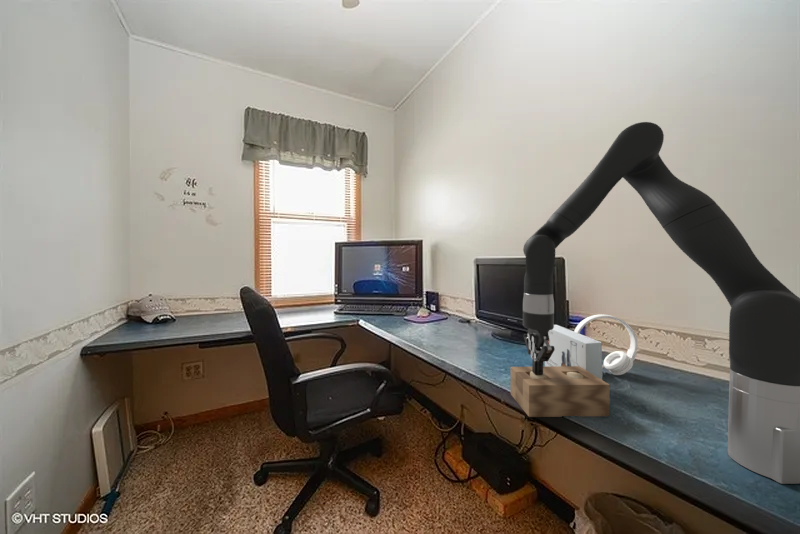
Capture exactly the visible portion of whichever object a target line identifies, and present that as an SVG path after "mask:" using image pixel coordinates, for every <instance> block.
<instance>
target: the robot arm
mask: <svg viewBox="0 0 800 534" xmlns="http://www.w3.org/2000/svg"><path fill="white" fill-rule="evenodd" d="M664 137H665V135H664V131H663V130H662V127H661V126H659V125H658V124H656V123H654V122H650V121H643V122H641V121H640V122H637V123H634V124H633V123H632V124H631V125H630V126H628V127H626V128H624V129H623V130H622V131H621V132H620V133H619V134H618V135H617V137H616V138H615V140H614V141H613V142H612V144H611V145H610V146H609V148H608V150H607V151H606V152H605V153H604V155H603V156H602V158H601V159H600V161H599V162H598V163H597V165H596V166H595V167H593V168H594V169H592V170H591V172H590V173H589V175H588V176H586V178H585V179H584V180H583V182H581V183H580V184H579V186H578V187H577V188H576V189H575V190H574V191H573V192H572V194H570V196H569V197H567V199H566V200H565V201H563V202H562V204H561V205H560V206H559V207H557V209H556V210H555V211H554V212H553V213H552V214H551V216H550V217H549V218H548V219H547V220H546V222H545V223H544V224H543V225H542V226H541V227H539V229H537V231H535V232H534V233H533V234H532V235H531V236H530V237H529V238H528V239H527V240H526V241H525V243H524V244H523V249H522V250H523V255H524V256H525V272H524V273H525V274H524V277H523V298H522V326H523V327H524V328H525V329H527V333H523V339H524V342H525V346H526V350H527V354H528V356H529V355H530V358H531V359H532V363H531V364H532V366H531V367H532V372H533V373H534V374H535V375H543V367H544V363H545V361H548V360H549V359H550V357H551V355H552V354H553V352H554V350H555V348H554V346H550V344H549V335H548V331H549V330H552V329H553V328H554V325H555V301H554V278H553V276H554V270H555V269H554V268H555V262H556V249H558V246H560V245H561V244H562V242H563V241H565V240H566V239H567V238H569V237H570V236H571V235H573V234H574V233H575V232H576V231H577V230H578V229H579V228H580V227H581V226H582V225H583V224H584V223H585V222H586V221H588V220H589V218H590V217H591V216H592V215H593V214H594V212H596V210H597V209H598V208H599V206H600V205H601V204H602V202H603V201H604V200H605V198H606V197H608V194H610V192H611V191H612V190H613V189H614V187H615V186H616V185H617V184H618V183H619V182H620V181H621V180H622V179H623V180H625V181H626V182H627V183H628V184H629V185H630V186H631V188H633V189H634V190H635V192H636V193H638V194H639V196H640V197H641V199H642V200H643V201H644V204H645V205H646V206H647V208H648V209H649V211H650V212H651V213H652V215H653V216H654V217H655V219H656V220H657V221H658V222H659V224H660V226H661V228H662V229H663V230H664V231H665V232H666V234H667V235H668V236H669V237H670V239H671V240H672V241H673V242H674V244H675V245H676V246H677V247H678V248H679V249H680V250H681V251H682V252H683V253H684V255H686V256H687V257H688V258H689V259H690V260H692V262H694V263H695V264H696V265H697V266H699V267H700V268H701V269H702V270H703V271H704V272H705V273H706V274H707V275H708V276H709V277H710V278H711V279H712V280H713V281H714V283H715V284H716V286H717V287H718V288H719V290H720V291H721V293H722V294H723V296H724V297H725V299H726V300H727V302H728V304H729V306H730V311H729V325H728V327H729V328H728V329H729V331H728V333H729V334H728V337H729V338H728V339H729V340H728V355H729V384H728V385H729V386H728V388H729V389H728V417H727V418H728V421H727V422H728V425H727V427H728V428H727V455H728V456H729V458H731V459H732V460H733V461H735V462H736V463H737V464H739V465H741V467H744V468H746V469H748V470H749V471H752V472H754V473H756V474H759V475H761V476H764V477H765V478H766V477H767V478H769V479H772V480H774V481H776V482H777V483H778V484H783V485H784V484H785V485H786V484H791V485H792V484H795V485H798V484H800V297H799V296H797V294H795V293H794V292H793V291H791V290H790V289H789V288H788V287H787V286H786V285H785V284H783V283H782V282H781V281H780V280H779V279H778V278H777V277H776V276H775V275H773V273H772V272H771V271H770V270H768V268H766V266H764V264H763V263H762V262H761V261H760V260H759V259H758V257H757V256H756V254H755V253H754V252H753V250H752V248H751V246H749V244H748V242H747V240H746V239H745V238H744V235H743V234H742V233H741V232H740V230H739V229H738V227H737V226H736V225H735V223H734V222H733V221H732V219H731V217H729V216H728V214H726V213H725V211H724V210H723V209H722V208H721V207H720V206H719V205H718V203H717V202H716V201H715V200H714V199H713V198H712V197H710V196H709V195H708V194H707V193H706V192H704V191H702V190H700V189H698V188H696V187H694V186H692V185H691V184H688V183H686V182H684V181H683V180H681V179H680V178H678V177H677V176H676V175H675V174H674V173H672V172H671V170H670V169H669V167H668V166H667V165H666V164H665V162H664V161H663V159H662V157H661V156H660V154H659V153H660V151H661V150H662V147H663V144H664Z"/></svg>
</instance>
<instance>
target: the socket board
mask: <svg viewBox="0 0 800 534" xmlns="http://www.w3.org/2000/svg"><path fill="white" fill-rule="evenodd" d="M530 372H532V366H510V396H512V398H513V399H514V400H515V402H517V404H518V405H519V406H520V408H521V409H522V410H523V411H524V413H525V414H526V415H527V416H528V417H529V418H547V417H548V418H551V417H552V418H553V417H554V418H556V417H557V418H559V417H560V418H561V417H562V416H578V417H610V392H611V391H610V390H611V389H610V388H611V387H610V385H611V384H609V383H608V382H606V381H604V380H603V379H602V380H601V379H600V378H598V377H596V376H595V375H593V374H591V373H590V372H588V371H586V370H585V369H583V368H582V367H580V366H550V367H545V366H543V373H544V374H545V375H546V379H532V378H531V377H530ZM567 372H576V373H579V374H582V375H583V379H571V378H569V377H568V376H567ZM562 418H563V417H562Z"/></svg>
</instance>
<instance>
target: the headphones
mask: <svg viewBox="0 0 800 534" xmlns="http://www.w3.org/2000/svg"><path fill="white" fill-rule="evenodd" d="M598 319H613V320H616V321H617V322H619V323H620V324H622V325H623V326H624V328H625V329H626V330H627V332H628V334H629V339H630V345H629V348H628V349H627V351H621V350H617V351H612V352H611V353H609V354H607V356H605V358H604V360H603V363H602V370H604V368H605V369H606V370H607V371H609V372H610V373H611V374H612V375H614V376H621V375H624V374H626V373H628V372H629V371H630V370H631V369H632V367H633V366H634V361H635V359H636V357H637V354H638V345H639V344H638V337H637V335H636V332H635V330H634V329H633V328H632V327H631V326H630V324H628V322H626V321H625V320H623V319H621V318H619V317H617V316H614V315H610V314H603V313H602V314H601V313H600V314H592V315H590V316H588V317H586V318H584V319H583V320H580V322H578V324H577V325H576V327H575V328H574V330H573V331H574V332H576V333H579V334H581V331H582V330H583V328H584V327H585V326H586V325H588V324H589V323H590V322H592V321H595V320H598Z"/></svg>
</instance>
